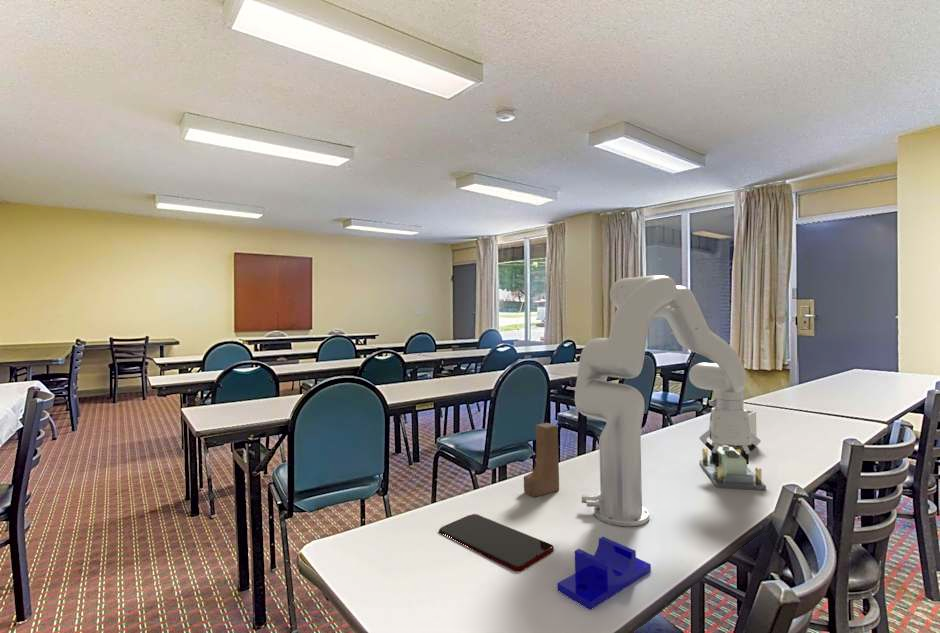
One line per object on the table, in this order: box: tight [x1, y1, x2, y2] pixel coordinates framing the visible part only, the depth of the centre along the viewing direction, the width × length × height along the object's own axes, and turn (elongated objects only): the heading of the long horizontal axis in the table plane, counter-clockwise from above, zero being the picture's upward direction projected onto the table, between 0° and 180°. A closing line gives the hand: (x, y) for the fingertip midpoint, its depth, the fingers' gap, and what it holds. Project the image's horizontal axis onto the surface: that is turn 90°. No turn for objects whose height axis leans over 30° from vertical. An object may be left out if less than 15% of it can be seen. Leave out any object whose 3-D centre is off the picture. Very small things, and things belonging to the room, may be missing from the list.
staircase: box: [719, 409, 758, 451], centre depth 166 cm, size 9×11×17 cm
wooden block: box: [523, 422, 560, 498], centre depth 131 cm, size 9×4×18 cm, turn 119°
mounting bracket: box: [557, 536, 652, 610], centre depth 88 cm, size 18×7×6 cm, turn 128°
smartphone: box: [438, 513, 555, 572], centre depth 105 cm, size 12×2×25 cm
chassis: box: [698, 447, 767, 491], centre depth 139 cm, size 12×20×5 cm, turn 167°
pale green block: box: [717, 445, 748, 478], centre depth 139 cm, size 5×13×6 cm, turn 167°
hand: (729, 465), depth 139 cm, fingers open, 6 cm apart
